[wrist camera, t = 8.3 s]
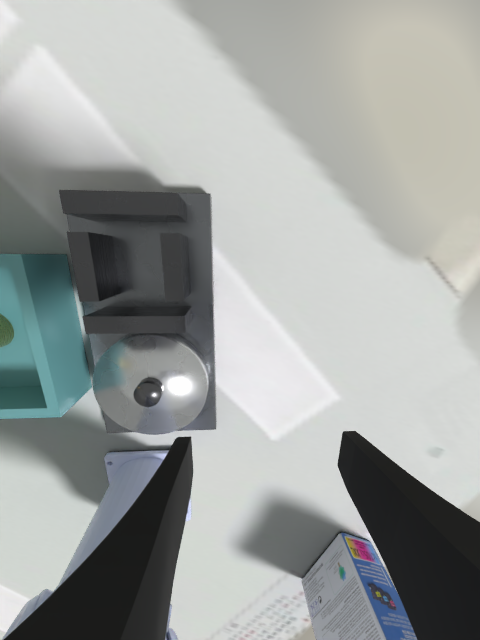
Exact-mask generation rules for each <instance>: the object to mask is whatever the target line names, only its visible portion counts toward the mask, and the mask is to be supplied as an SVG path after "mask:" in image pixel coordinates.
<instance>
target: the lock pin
mask: <svg viewBox="0 0 480 640" xmlns="http://www.w3.org/2000/svg"><path fill="white" fill-rule="evenodd" d="M13 338H14V329H13V326H12V324H11V323H10V321H9V320H8V319H7V318H6V317H5V316H3V315H2V314H0V348H1V347H4V346H6V345H8V344H9V343H11V341H12V340H13Z"/></svg>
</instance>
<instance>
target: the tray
mask: <svg viewBox="0 0 480 640" xmlns="http://www.w3.org/2000/svg"><path fill="white" fill-rule="evenodd" d="M0 314H2V315H3V316H5V317H6V318H7V319H8V320H9V321H10V323H11V324H12V326H13V329H14V338H13V340H12V341H11V343H9V344H8V345H6V346H4V347H1V348H0V419H14V418H49V417H62V416H63V415H64V414H65V413H66V412H67V411H68V410H69V409H70V408H71V407H72V406H73V405H74V404H75V403H76V402H77V401H78V400H79V399H80V398H81V397H82V396H83V395H84V394H85V393H86V392H87V391H88V390H89V389H90V388H91V387H92V385H91V380H90V374H89V369H88V364H87V359H86V354H85V348H84V343H83V338H82V333H81V328H80V323H79V317H78V312H77V307H76V302H75V297H74V292H73V286H72V281H71V276H70V271H69V266H68V260H67V255H66V254H0Z"/></svg>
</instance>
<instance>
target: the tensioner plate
mask: <svg viewBox="0 0 480 640" xmlns="http://www.w3.org/2000/svg"><path fill="white" fill-rule="evenodd" d="M59 193H60V198H61V203H62V208H63V213H64V214H67V219H68V224H69V230H70V232H67V235H68V240H69V246H70V251H71V256H72V262H73V267H74V272H75V278H76V283H77V288H78V294H79V299H80V302H83V306H84V311H85V316H83V320H84V326H85V331H86V334H89V338H90V344H91V349H92V354H93V360H94V365H95V369H94V373H93V390H94V394H95V397H96V400H97V402H98V404H99V405H100V407H101V409H102V410H103V414H104V420H105V425H106V430H107V433H120V432H138V433H142V434H165V433H170V432H173V431H181V430H212V429H216V382H215V339H214V295H213V252H212V209H211V195H210V194H204V193H162V192H121V191H80V190H59Z"/></svg>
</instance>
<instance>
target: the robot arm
mask: <svg viewBox="0 0 480 640" xmlns="http://www.w3.org/2000/svg"><path fill="white" fill-rule="evenodd" d="M104 461H105V466H106V471H107V476H108V481H109V487H108V489H107V491H106V493H105V495H104V497H103V499H102V501H101V503H100V505H99V507H98V509H97V510H96V512H95V514H94V516H93V518H92V520H91V522H90V524H89V526H88V528H87V530H86V532H85V534H84V536H83V538H82V540H81V542H80V544H79V546H78V548H77V550H76V552H75V553H74V555H73V557H72V559H71V561H70V563H69V565H68V567H67V569H66V571H65V573H64V575H63V577H62V579H61V581H60V583H59V585H58V586H57V588H56V589H55V590H54V591H51V590H48V589H45V590H43V591H42V592H41V593H40V594H39V595H37V596H36V597H34V598H33V599H31V600H30V601H28V602H27V603H26V604H25V606H24V607H23V608H22V610H21V611H20V613H19V614H18V616H17V617H16V619H15V620H14V622H13V623H12V625H11V626H10V628H9V629H8V631H7V632H6V634H5V636H4V637H3V639H2V640H178V638H177V635H176V633H175V631H173V630H172V629H171V628H169V622H170V615H171V609H172V605H171V604H170V601H171V594H172V587H173V580H174V574H175V568H176V563H177V558H178V553H179V549H180V544H181V539H182V534H183V530H184V525H185V521H189V520H190V519H191V501H190V495H191V486H192V478H193V460H192V444H191V437H177V438H176V439H175V441H174V443H173V445H172V446H171V448H170V450H162V451H135V452H110V453H107V454H106V456H105V457H104ZM110 461H111V462H110ZM338 468H339V471H340V473H341V476H342V478H343V481H344V483H345V486H346V488H347V491H348V493H349V495H350V497H351V498H352V500H353V502H354V504H355V506H356V508H357V510H358V512H359V514H360V516H361V518H362V520H363V522H364V524H365V525H366V527H367V529H368V531H369V533H370V535H371V537H372V539H373V541H374V543H375V545H376V546H377V548H378V550H379V552H380V554H381V556H382V559H383V561H384V563H385V565H386V567H387V569H388V571H389V573H390V576H391V578H392V581H393V583H394V585H395V588H396V590H397V592H398V594H399V597H400V599H401V601H402V604H403V606H404V609H405V611H406V613H407V616H408V618H409V621H410V623H411V626H412V628H413V630H414V633H415V635H416V638H417V640H480V522H478V521H477V520H475V519H474V518H472V517H470V516H469V515H467V514H466V513H464V512H463V511H461V510H460V509H458V508H457V507H455V506H454V505H452V504H451V503H449V502H448V501H446V500H445V499H443V498H442V497H440V496H439V495H437V494H436V493H435V492H433V491H432V490H430V489H429V488H428V487H426V486H425V485H424V484H422V483H421V482H419V481H418V480H417V479H415V478H414V477H413V476H411V475H410V474H409V473H407V472H406V471H405V470H403V469H402V468H401V467H400V466H398V465H397V464H396V463H395V462H393V461H392V460H391V459H390V458H388V457H387V456H386V455H385V454H383V453H382V452H381V451H380V450H378V449H377V448H376V447H375V446H373V445H372V444H371V443H370V442H369V441H367V440H366V439H365V438H364V437H362V436H361V435H360V434H358V433H357V432H356V431H344V432H343V434H342V441H341V447H340V453H339V459H338Z"/></svg>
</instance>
